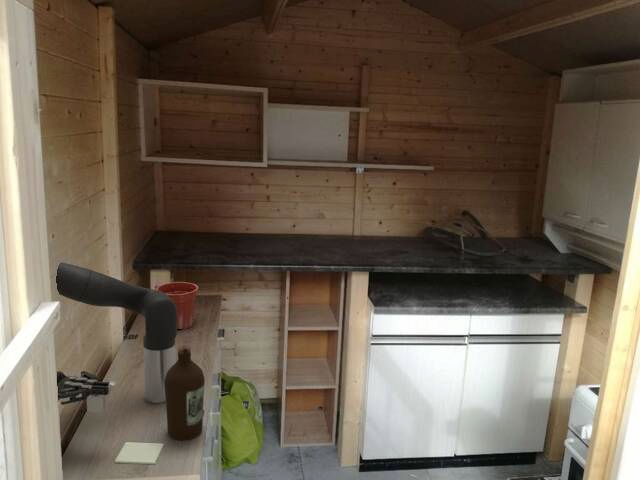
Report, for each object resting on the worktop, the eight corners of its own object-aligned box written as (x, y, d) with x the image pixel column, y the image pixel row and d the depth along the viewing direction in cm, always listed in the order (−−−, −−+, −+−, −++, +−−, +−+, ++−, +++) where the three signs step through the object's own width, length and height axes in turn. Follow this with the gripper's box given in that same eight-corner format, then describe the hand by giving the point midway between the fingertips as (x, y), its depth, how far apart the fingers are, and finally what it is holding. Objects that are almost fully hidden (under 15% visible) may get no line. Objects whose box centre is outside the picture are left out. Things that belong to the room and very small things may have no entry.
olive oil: (157, 434, 147) (155, 349, 142) (183, 416, 157) (183, 336, 151) (186, 446, 143) (185, 359, 137) (212, 427, 152) (212, 345, 146)
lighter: (87, 411, 137) (85, 383, 135) (89, 407, 139) (87, 379, 137) (115, 412, 137) (114, 383, 136) (117, 408, 139) (116, 380, 137)
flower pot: (164, 316, 231) (164, 280, 227) (202, 318, 230) (202, 282, 226) (151, 331, 214) (150, 293, 211) (192, 333, 214) (191, 295, 210)
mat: (126, 443, 143) (125, 442, 142) (163, 445, 143) (163, 443, 143) (114, 462, 135) (114, 461, 135) (154, 464, 135) (154, 462, 135)
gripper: (25, 385, 129) (98, 388, 129) (52, 360, 142) (118, 362, 142) (28, 413, 131) (99, 416, 131) (54, 385, 144) (119, 388, 144)
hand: (109, 388), depth 137 cm, fingers closed on lighter, 1 cm apart
